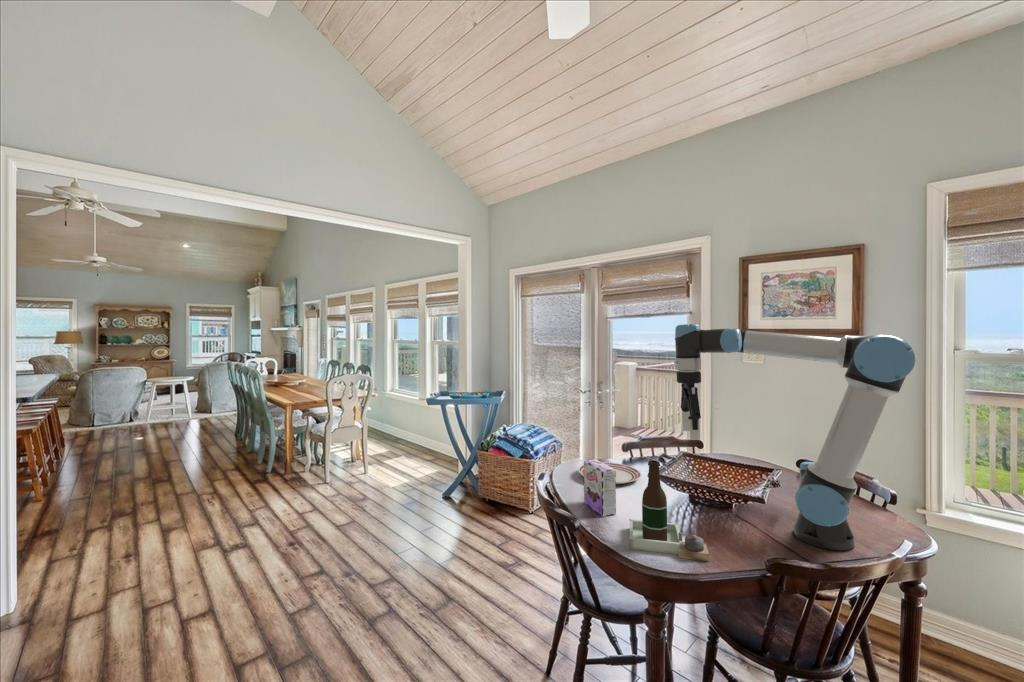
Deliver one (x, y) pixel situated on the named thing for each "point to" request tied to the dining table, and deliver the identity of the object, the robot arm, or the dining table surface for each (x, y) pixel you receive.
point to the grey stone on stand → (693, 548)
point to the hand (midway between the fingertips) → (690, 435)
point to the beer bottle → (654, 506)
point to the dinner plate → (620, 472)
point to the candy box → (600, 487)
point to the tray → (655, 545)
